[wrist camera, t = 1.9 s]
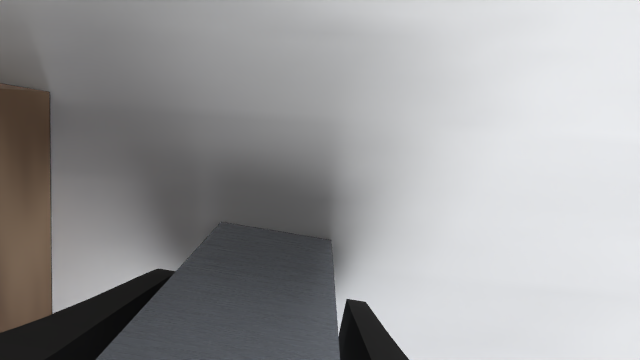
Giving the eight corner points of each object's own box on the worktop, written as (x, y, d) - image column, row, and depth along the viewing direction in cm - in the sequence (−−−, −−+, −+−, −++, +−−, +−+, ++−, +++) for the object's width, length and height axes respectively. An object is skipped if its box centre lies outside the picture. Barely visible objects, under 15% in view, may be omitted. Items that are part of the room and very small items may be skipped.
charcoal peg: (312, 334, 12) (301, 619, 5) (210, 319, 12) (64, 589, 5) (331, 240, 11) (345, 433, 5) (221, 221, 11) (64, 392, 4)
